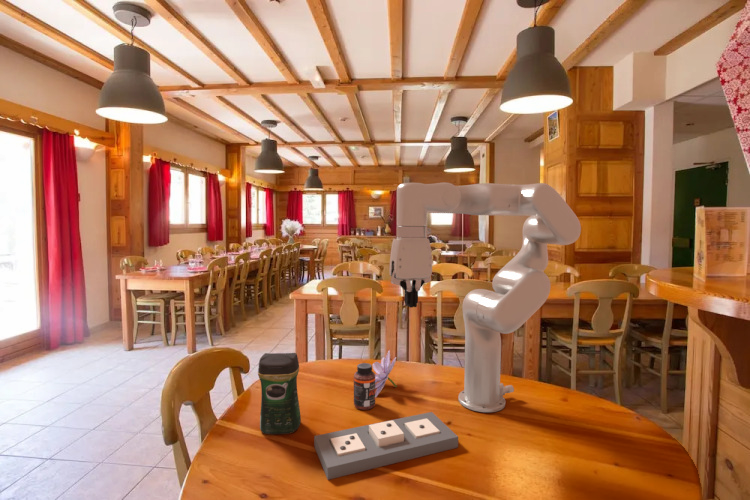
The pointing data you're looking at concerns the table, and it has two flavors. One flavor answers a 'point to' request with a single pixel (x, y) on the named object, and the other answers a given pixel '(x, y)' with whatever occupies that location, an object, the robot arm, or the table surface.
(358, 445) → the tile
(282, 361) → the coffee jar
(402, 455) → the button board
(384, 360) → the water lily
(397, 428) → the tile
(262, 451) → the table surface
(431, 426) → the tile
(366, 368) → the supplement bottle
